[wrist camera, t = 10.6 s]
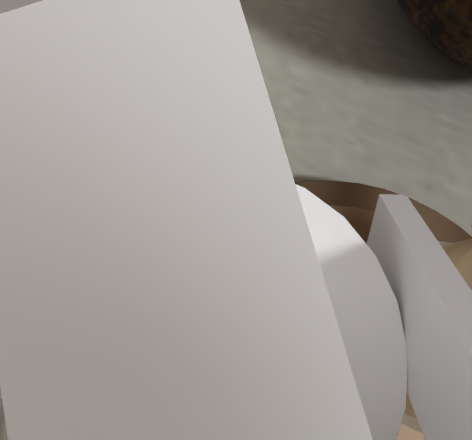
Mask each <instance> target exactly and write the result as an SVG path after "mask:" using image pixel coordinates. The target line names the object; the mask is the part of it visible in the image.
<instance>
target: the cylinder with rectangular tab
mask: <svg viewBox="0 0 472 440" xmlns="http://www.w3.org/2000/svg"><path fill="white" fill-rule="evenodd" d="M0 387H1V394H2V401H3V408H4V415H5V422H6V429H7V436H8V440H396V438H397V435H398V431H399V428H400V425H401V422H402V418H403V415H404V412H405V409H406V389H407V354H406V340H405V335H404V330H403V325H402V321H401V316H400V311H399V306H398V301H397V299H396V297H395V295H394V293H393V291H392V289H391V286H390V284H389V282H388V280H387V278H386V276H385V274H384V272H383V270H382V268H381V265H380V263H379V261H378V259H377V257H376V255H375V254H374V253H373V251H372V250H371V249H370V248H369V247H368V245H367V244H366V243H365V242H364V240H363V239H362V238H361V237H360V236H359V234H358V233H357V232H356V231H355V230H354V228H353V227H352V226H351V225H350V223H349V222H348V221H347V220H346V219H345V217H344V216H342V215H341V214H340V213H338V212H337V211H336V210H334V209H333V208H331V207H330V206H329V205H327V204H326V203H325V202H323V201H322V200H321V199H319V198H318V197H316V196H315V195H314V194H312V193H311V192H310V191H308V190H307V189H306V188H304V187H301V186H299V185H296V184H295V182H294V178H293V175H292V172H291V169H290V165H289V162H288V159H287V155H286V152H285V149H284V145H283V142H282V139H281V136H280V132H279V129H278V126H277V122H276V119H275V116H274V113H273V109H272V106H271V103H270V99H269V96H268V93H267V89H266V86H265V83H264V80H263V76H262V73H261V70H260V66H259V63H258V60H257V57H256V53H255V50H254V47H253V43H252V40H251V37H250V33H249V30H248V27H247V24H246V20H245V17H244V14H243V10H242V7H241V4H240V0H43V1H40V2H36V3H33V4H30V5H27V6H24V7H21V8H18V9H15V10H11V11H9V12H5V13H2V14H0Z"/></svg>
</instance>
